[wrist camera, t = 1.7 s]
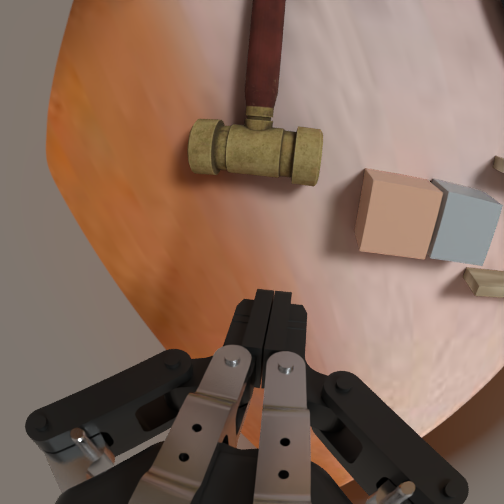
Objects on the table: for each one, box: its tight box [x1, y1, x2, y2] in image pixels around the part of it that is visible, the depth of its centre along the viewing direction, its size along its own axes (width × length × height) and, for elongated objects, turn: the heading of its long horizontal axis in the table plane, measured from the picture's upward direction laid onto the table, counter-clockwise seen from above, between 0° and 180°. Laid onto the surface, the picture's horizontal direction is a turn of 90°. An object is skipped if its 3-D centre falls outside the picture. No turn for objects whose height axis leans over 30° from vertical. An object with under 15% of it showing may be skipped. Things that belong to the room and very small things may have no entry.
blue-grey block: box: [427, 179, 503, 266], centre depth 24 cm, size 6×6×4 cm
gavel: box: [188, 0, 323, 186], centre depth 21 cm, size 21×5×10 cm
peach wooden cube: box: [354, 168, 443, 260], centre depth 24 cm, size 6×6×4 cm
